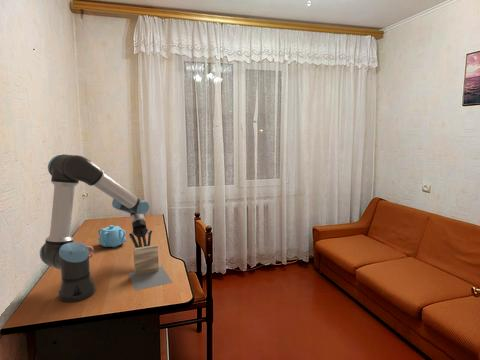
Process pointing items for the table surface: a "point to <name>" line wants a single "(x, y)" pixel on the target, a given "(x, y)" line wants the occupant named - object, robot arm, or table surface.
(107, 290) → the table surface
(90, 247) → the decorative key
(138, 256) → the plaque
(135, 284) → the mat
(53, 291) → the table surface
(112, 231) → the decorative pot
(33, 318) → the table surface
